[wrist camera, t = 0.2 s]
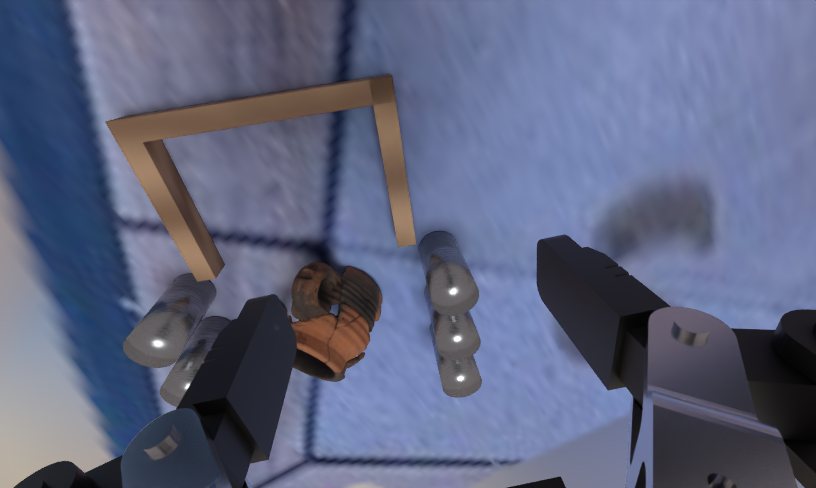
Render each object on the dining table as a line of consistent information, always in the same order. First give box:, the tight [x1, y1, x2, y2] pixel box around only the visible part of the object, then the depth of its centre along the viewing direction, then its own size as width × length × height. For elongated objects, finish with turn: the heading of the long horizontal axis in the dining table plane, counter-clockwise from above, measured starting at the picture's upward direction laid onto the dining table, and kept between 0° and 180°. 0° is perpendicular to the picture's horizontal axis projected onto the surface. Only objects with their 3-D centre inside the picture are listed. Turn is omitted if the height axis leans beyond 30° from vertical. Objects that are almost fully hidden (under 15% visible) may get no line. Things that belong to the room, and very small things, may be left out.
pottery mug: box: [283, 262, 382, 382], centre depth 29 cm, size 12×10×8 cm
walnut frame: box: [106, 74, 416, 282], centre depth 25 cm, size 12×18×2 cm
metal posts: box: [123, 231, 482, 407], centre depth 30 cm, size 14×26×7 cm, turn 98°
